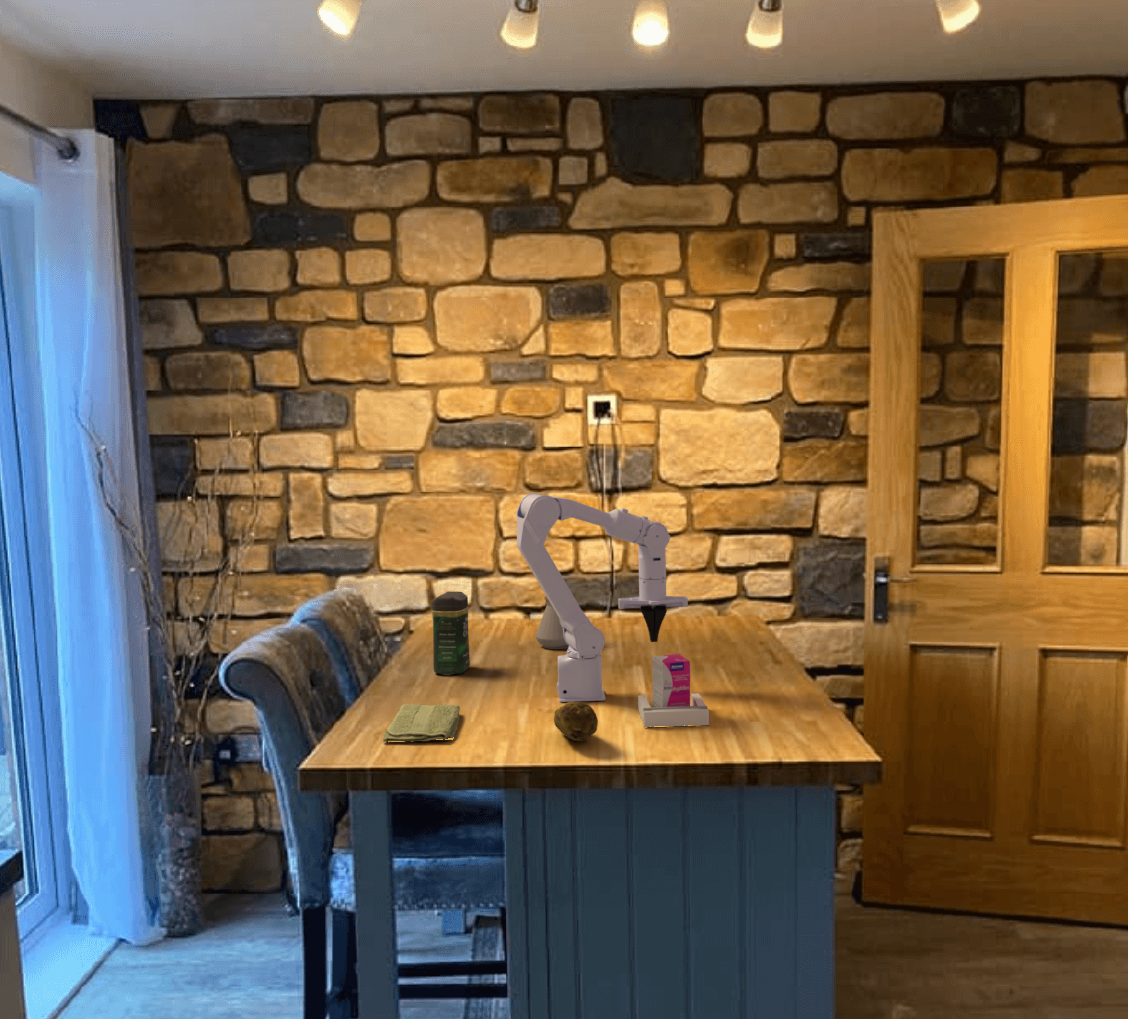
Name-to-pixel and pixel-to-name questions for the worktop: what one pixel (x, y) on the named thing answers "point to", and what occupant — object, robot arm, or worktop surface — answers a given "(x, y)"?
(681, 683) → the supplement box
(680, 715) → the dock
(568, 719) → the potato
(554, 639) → the coffee pot
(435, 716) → the washcloth
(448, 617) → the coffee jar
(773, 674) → the worktop surface
